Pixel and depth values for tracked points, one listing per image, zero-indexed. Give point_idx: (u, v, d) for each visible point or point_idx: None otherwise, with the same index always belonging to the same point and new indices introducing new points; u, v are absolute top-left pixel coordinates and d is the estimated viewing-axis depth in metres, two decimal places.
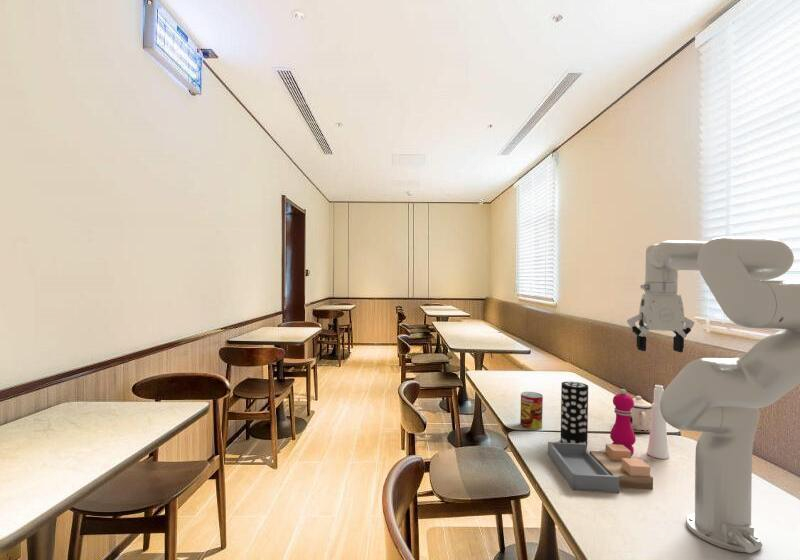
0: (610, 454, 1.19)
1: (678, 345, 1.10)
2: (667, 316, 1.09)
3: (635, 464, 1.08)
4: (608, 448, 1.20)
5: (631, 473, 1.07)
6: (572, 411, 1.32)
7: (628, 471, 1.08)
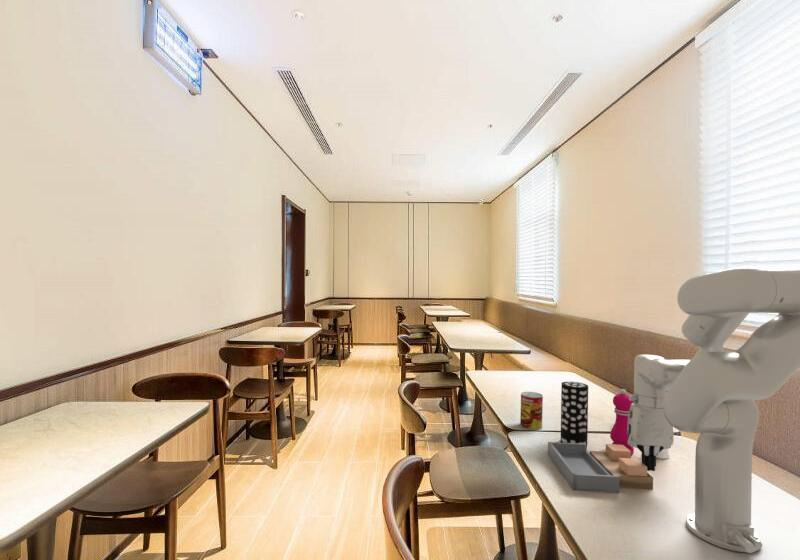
0: (610, 454, 1.19)
1: None
2: (655, 431, 1.07)
3: (632, 464, 1.08)
4: (608, 448, 1.20)
5: (628, 473, 1.07)
6: (572, 411, 1.32)
7: (625, 471, 1.08)
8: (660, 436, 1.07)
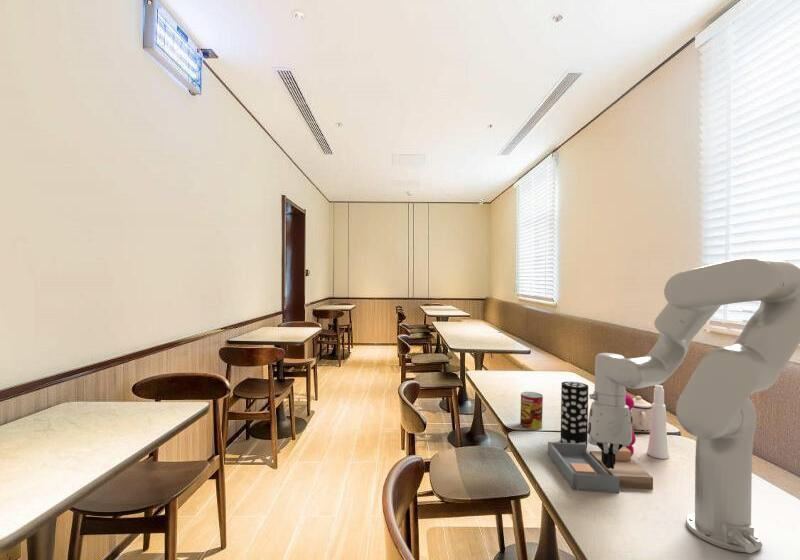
0: None
1: None
2: (614, 429, 1.07)
3: None
4: (608, 448, 1.20)
5: None
6: (572, 411, 1.32)
7: None
8: (619, 434, 1.07)
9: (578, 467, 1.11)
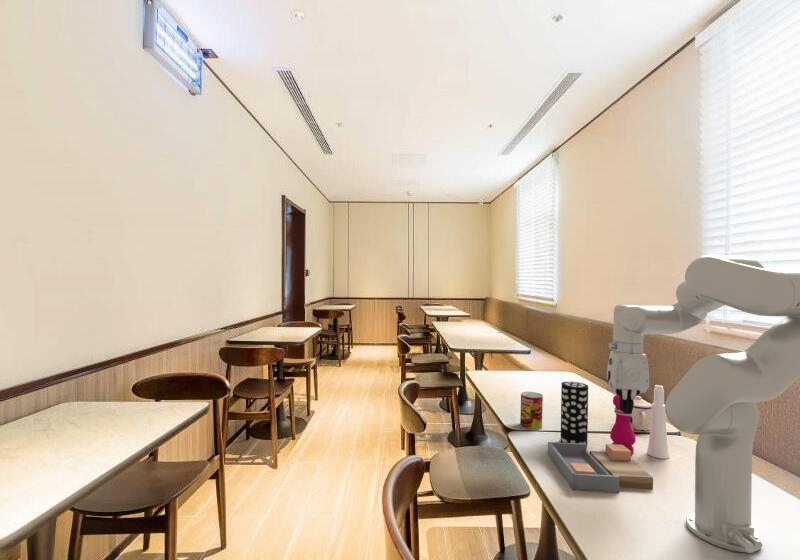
0: (610, 454, 1.19)
1: None
2: (633, 376, 1.12)
3: None
4: (608, 448, 1.20)
5: None
6: (572, 411, 1.32)
7: None
8: (637, 380, 1.12)
9: (578, 467, 1.11)
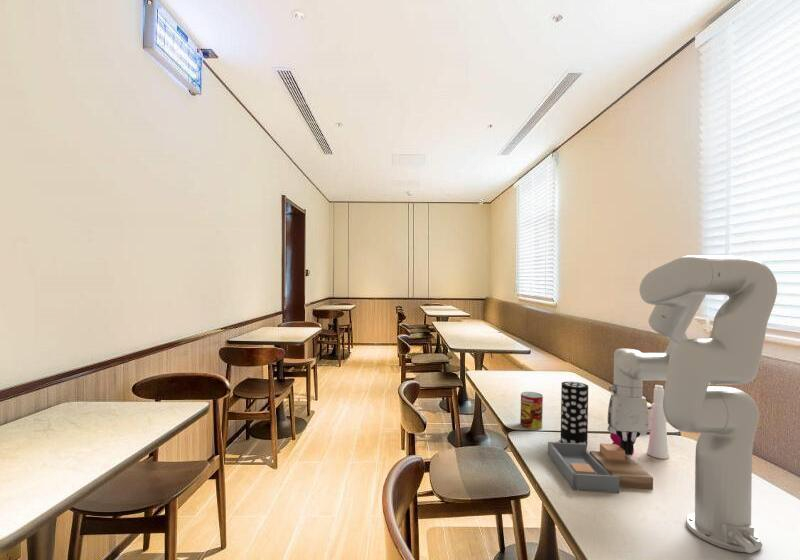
0: (604, 453, 1.19)
1: None
2: (633, 418, 1.17)
3: None
4: (602, 448, 1.21)
5: None
6: (572, 411, 1.32)
7: None
8: (637, 423, 1.17)
9: (578, 467, 1.11)
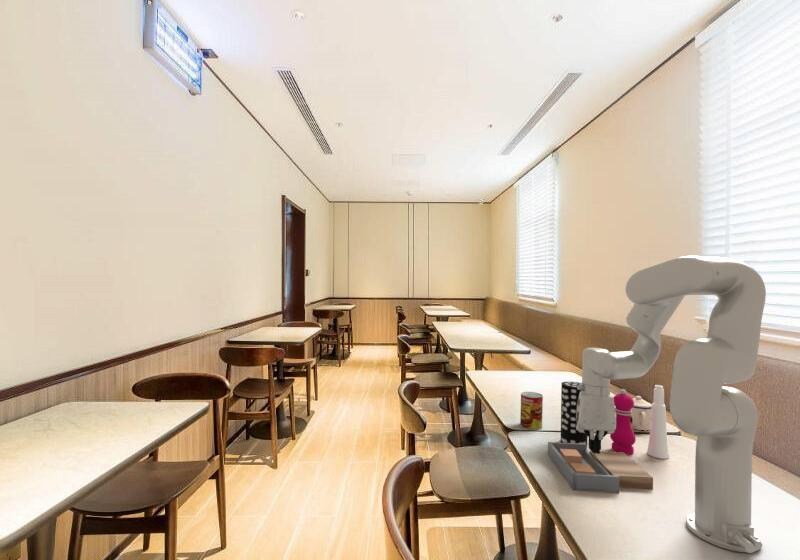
0: None
1: None
2: (600, 417, 1.17)
3: None
4: None
5: None
6: (572, 411, 1.32)
7: None
8: (604, 422, 1.17)
9: (578, 467, 1.11)
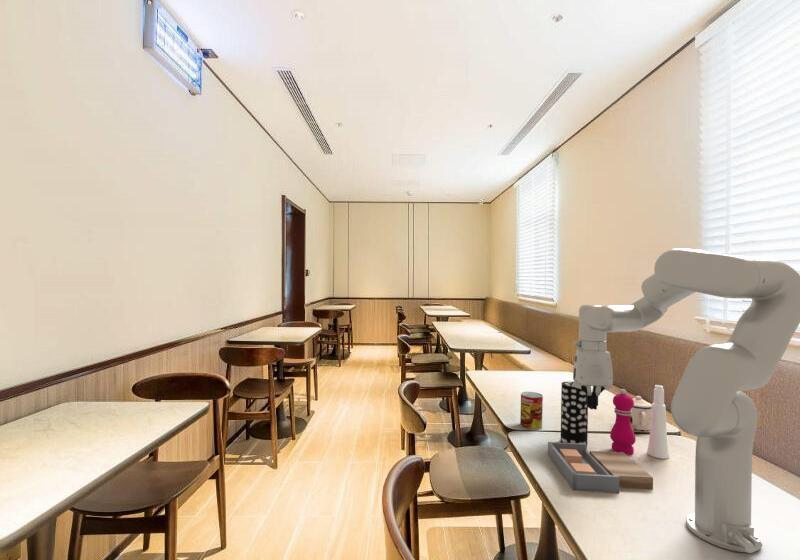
0: None
1: None
2: (597, 372, 1.17)
3: None
4: None
5: None
6: (572, 411, 1.32)
7: None
8: (601, 377, 1.17)
9: (578, 467, 1.11)
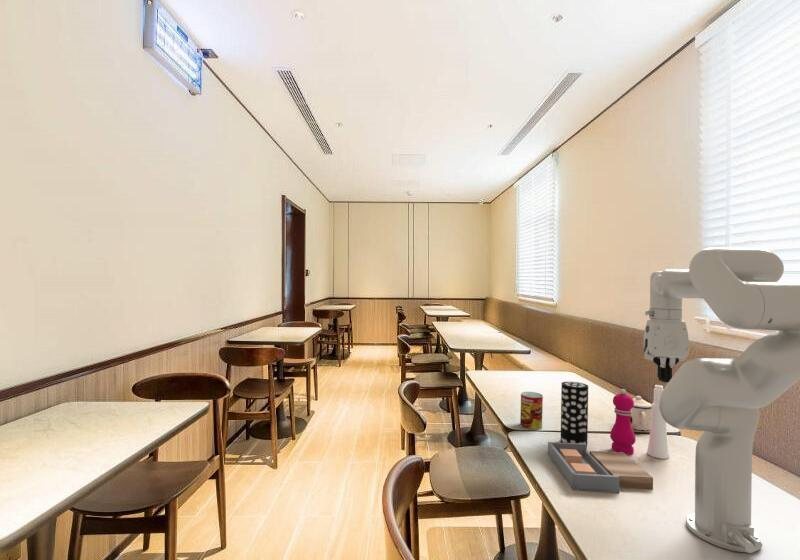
0: None
1: None
2: (672, 343, 1.09)
3: None
4: None
5: None
6: (572, 411, 1.32)
7: None
8: (676, 347, 1.09)
9: (578, 467, 1.11)
